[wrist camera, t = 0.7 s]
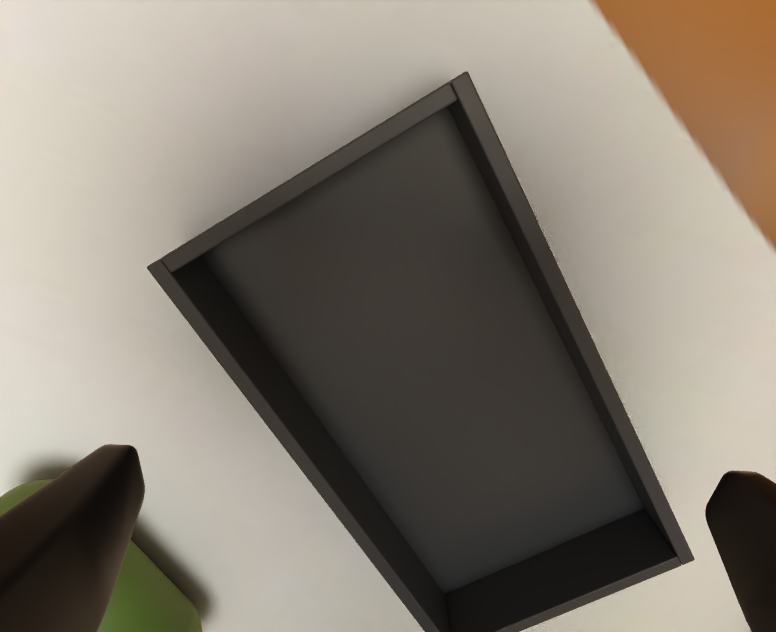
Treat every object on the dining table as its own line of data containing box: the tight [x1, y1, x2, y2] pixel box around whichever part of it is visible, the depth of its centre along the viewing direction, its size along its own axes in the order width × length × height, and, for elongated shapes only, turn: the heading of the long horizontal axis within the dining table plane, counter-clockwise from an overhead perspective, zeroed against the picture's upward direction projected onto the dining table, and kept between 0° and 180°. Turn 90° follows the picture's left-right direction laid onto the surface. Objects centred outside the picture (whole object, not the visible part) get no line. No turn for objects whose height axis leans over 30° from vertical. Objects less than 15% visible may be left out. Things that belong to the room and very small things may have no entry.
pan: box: [147, 72, 694, 632], centre depth 21 cm, size 12×22×3 cm, turn 30°
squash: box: [0, 479, 202, 632], centre depth 24 cm, size 4×12×4 cm, turn 30°
